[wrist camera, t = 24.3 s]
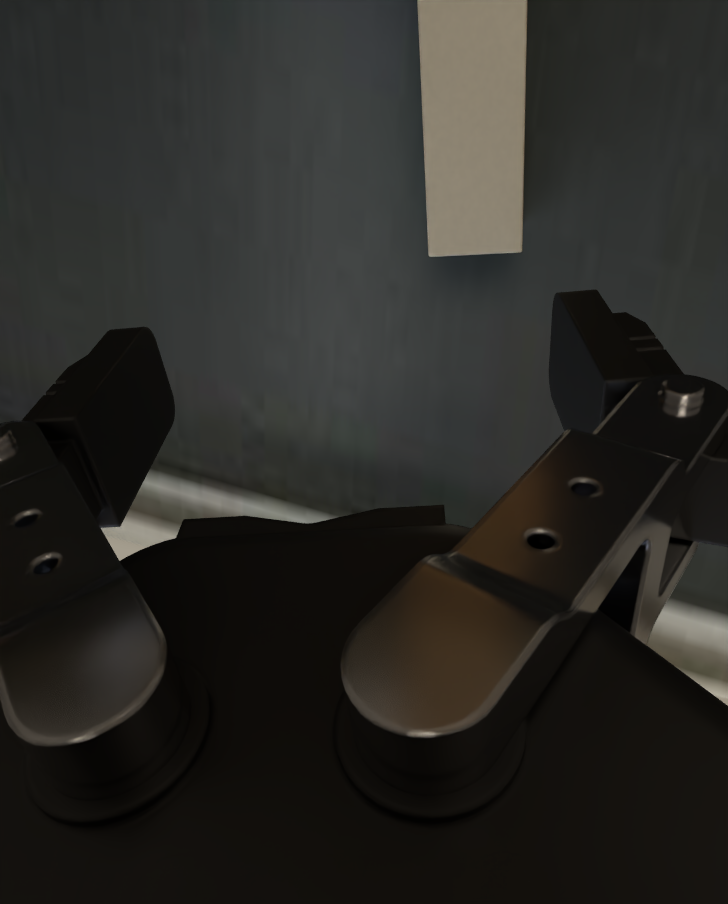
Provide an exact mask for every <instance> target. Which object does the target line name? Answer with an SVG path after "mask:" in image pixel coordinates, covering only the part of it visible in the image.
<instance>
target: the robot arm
mask: <svg viewBox="0 0 728 904" xmlns="http://www.w3.org/2000/svg"><path fill="white" fill-rule="evenodd" d="M549 384H550V392H551V397H552V400H553V403H554V405H555V408H556V410H557V413H558V416H559V418H560V421H561V424H562V426H563V429H564V432H563V433H562V434H561V435H560V436H559V438H558V439H557V440H556V441H555V442H554V443H553V444H552V445H551V446H550V447H549V448H548V449H547V450H546V451H545V452H544V453H543V454H542V455H541V456H540V458H539V459H538V460H537V461H536V462H535V463H534V464H533V465H532V466H531V467H530V468H529V469H528V470H527V471H526V472H525V473H524V474H523V475H522V476H521V477H520V479H519V480H518V481H517V482H516V483H515V484H514V485H513V486H512V487H511V488H510V489H509V490H508V491H507V492H506V493H505V494H504V495H503V496H502V497H501V499H500V500H499V501H498V502H497V503H496V504H495V505H494V506H493V507H492V508H491V509H490V510H489V511H488V512H487V513H486V514H485V515H484V516H483V517H482V518H481V520H480V521H479V522H478V523H477V524H476V525H475V526H474V527H473V528H468V527H463V526H459V525H453V524H446V523H445V512H444V505H433V506H415V507H397V508H379V509H374V510H370V511H365V512H361V513H356V514H352V515H348V516H343V517H339V518H334V519H330V520H326V521H321V522H317V523H309V524H305V523H296V522H288V521H281V520H273V519H265V518H258V517H250V516H236V517H218V518H200V519H184V520H183V522H182V525H181V527H180V530H179V532H178V535H177V537H176V538H175V539H171V540H167V541H164V542H161V543H158V544H155V545H152V546H150V547H147V548H145V549H142V550H140V551H138V552H136V553H134V554H132V555H130V556H128V557H126V558H124V559H122V560H121V561H119V560H118V558H117V556H116V554H115V553H114V551H113V549H112V547H111V546H110V544H109V542H108V540H107V539H106V537H105V535H104V533H103V532H102V530H101V528H105V527H120V526H121V524H122V522H123V520H124V518H125V516H126V514H127V512H128V510H129V508H130V506H131V504H132V502H133V501H134V499H135V497H136V495H137V493H138V491H139V489H140V487H141V485H142V483H143V481H144V479H145V477H146V475H147V473H148V471H149V469H150V467H151V466H152V464H153V462H154V460H155V458H156V456H157V454H158V452H159V450H160V448H161V446H162V444H163V442H164V440H165V438H166V436H167V434H168V432H169V431H170V429H171V427H172V425H173V422H174V417H175V404H174V398H173V394H172V390H171V387H170V384H169V381H168V378H167V374H166V371H165V368H164V365H163V362H162V358H161V355H160V352H159V349H158V346H157V342H156V340H155V337H154V335H153V333H152V331H151V330H150V329H149V328H147V327H137V328H126V329H114V330H109V331H108V332H107V333H106V334H105V335H104V336H103V338H102V339H101V340H100V341H99V342H98V343H97V345H96V346H95V347H94V348H93V349H92V351H91V352H90V353H89V354H88V355H87V356H85V357H84V358H82V359H81V360H79V361H77V362H76V363H74V364H73V365H71V366H70V367H68V368H67V369H66V370H65V371H64V372H63V373H62V375H61V376H60V377H59V378H58V379H57V380H56V384H53V385H52V386H51V387H50V388H49V390H48V391H47V392H46V395H43V397H42V398H41V399H40V400H39V401H38V402H37V403H36V405H35V406H34V407H33V408H32V409H31V410H30V411H29V413H28V414H27V415H26V416H25V417H24V418H23V420H22V421H11V422H5V423H1V424H0V904H728V706H727V705H726V704H725V703H723V702H722V701H721V700H719V699H718V698H716V697H715V696H714V695H712V694H711V693H710V692H708V691H707V690H706V689H704V688H703V687H702V686H700V685H699V684H698V683H696V682H695V681H694V680H692V679H691V678H690V677H688V676H687V675H686V674H684V673H683V672H682V671H680V670H679V669H678V668H676V667H675V666H674V665H672V664H671V663H669V662H668V661H667V660H665V659H664V658H663V657H661V656H660V655H659V654H657V653H656V652H655V651H653V650H652V649H651V648H649V647H648V646H647V643H648V640H649V637H650V634H651V631H652V629H653V626H654V624H655V622H656V620H657V618H658V616H659V614H660V612H661V611H662V609H663V607H664V605H665V604H666V602H667V600H668V598H669V597H670V595H671V593H672V591H673V590H674V588H675V586H676V584H677V583H678V581H679V579H680V578H681V576H682V574H683V572H684V571H685V569H686V567H687V565H688V564H689V562H690V560H691V558H692V557H693V555H694V553H695V551H696V550H697V547H698V545H699V542H701V543H707V544H713V545H719V546H725V547H728V391H727V390H726V389H725V388H724V387H722V386H721V385H719V384H717V383H715V382H713V381H710V380H708V379H705V378H701V377H697V376H692V375H685V374H683V372H682V371H681V370H680V368H679V367H678V366H677V364H676V363H675V362H674V360H673V359H672V358H671V356H670V355H669V353H668V352H667V351H666V350H664V349H663V345H662V344H661V343H660V341H659V340H658V339H655V335H654V333H653V332H652V331H651V329H650V328H649V327H648V325H647V324H646V323H645V322H643V321H641V320H639V319H637V318H636V317H634V316H632V315H630V314H628V313H626V312H624V313H612V312H611V310H610V309H609V307H608V306H607V304H606V303H605V301H604V300H603V298H602V297H601V295H600V294H599V292H598V291H597V290H585V291H573V292H561V293H556V294H555V296H554V301H553V309H552V326H551V342H550V359H549Z"/></svg>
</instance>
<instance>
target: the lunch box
mask: <svg viewBox="0 0 728 904" xmlns="http://www.w3.org/2000/svg"><path fill="white" fill-rule="evenodd" d="M417 3H418V26H419V48H420V71H421V94H422V117H423V139H424V162H425V185H426V208H427V231H428V253H429V257H438V256H459V255H479V254H499V253H519V252H522V237H523V189H524V140H525V91H526V43H527V0H417Z"/></svg>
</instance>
